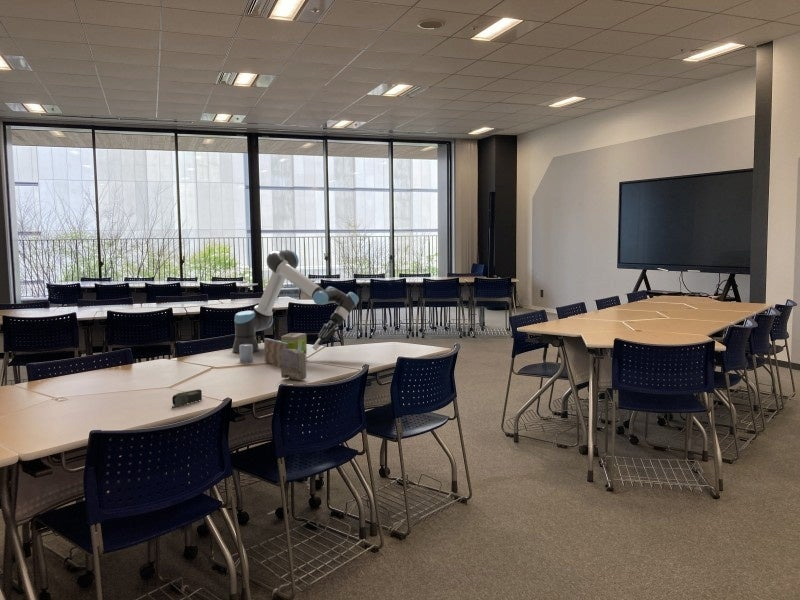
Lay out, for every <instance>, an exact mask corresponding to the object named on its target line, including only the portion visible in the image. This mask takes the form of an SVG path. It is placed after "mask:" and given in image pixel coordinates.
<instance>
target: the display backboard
mask: <svg viewBox="0 0 800 600" xmlns="http://www.w3.org/2000/svg"><path fill="white" fill-rule="evenodd" d="M263 342H264V344H263V345H264V362H265V361H266V362H265V363H267V362H269V364H271V363H272V364H271V365H274V364H275V366H277V365H279V366H278V367H280V366H281V356H280V350H282V349H288V345H289V343H285V342H281V340H275V339H272V338H268V337H264V338H263Z"/></svg>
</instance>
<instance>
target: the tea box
mask: <svg viewBox="0 0 800 600" xmlns="http://www.w3.org/2000/svg"><path fill="white" fill-rule="evenodd" d="M280 341H281V342H285V343H289V345H288V349H296V350H299V351H303V352H305V361H306V360H307V356H308V355H307V351H308V350H307V344H308V343H307V333H305V332H304V333H302V332H289V333H287V334H284V335H281V336H280Z"/></svg>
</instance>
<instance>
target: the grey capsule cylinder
mask: <svg viewBox="0 0 800 600" xmlns="http://www.w3.org/2000/svg"><path fill="white" fill-rule="evenodd" d="M239 352H240V353H239V362H240V361H241V362H240V363H243V362H247V363H251V362H250V361H252V362H254V352H253V345H252V344H241V345H239Z"/></svg>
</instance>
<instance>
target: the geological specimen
mask: <svg viewBox="0 0 800 600" xmlns="http://www.w3.org/2000/svg"><path fill="white" fill-rule="evenodd" d="M280 356H281V367H280V371H281V373H280V374H281V378H282V379H284V378H285V379H287V378H289V379H290V378H292V379H291V380H293V379H297V381H303V380H305V379H306V378H307V365H306V360H305V352H303V351H299V350H296V349H282V350H280Z"/></svg>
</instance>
